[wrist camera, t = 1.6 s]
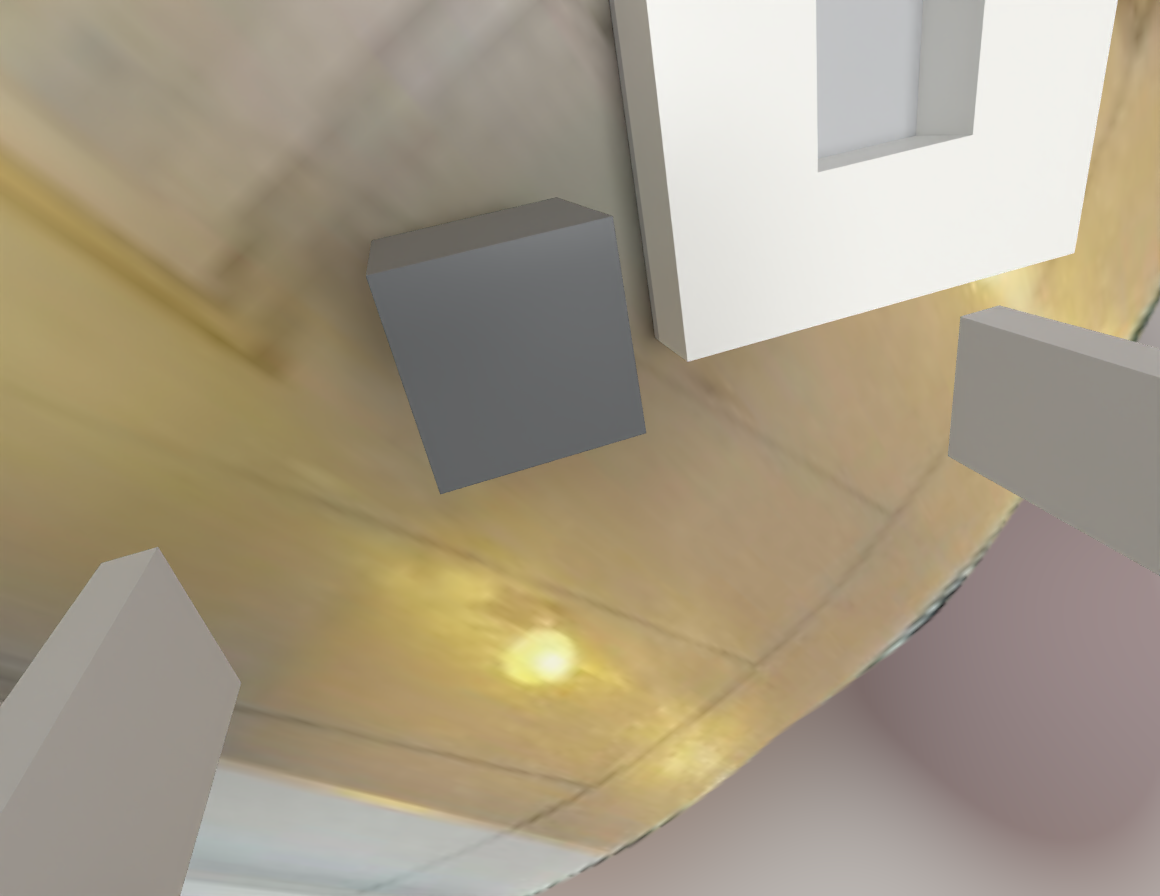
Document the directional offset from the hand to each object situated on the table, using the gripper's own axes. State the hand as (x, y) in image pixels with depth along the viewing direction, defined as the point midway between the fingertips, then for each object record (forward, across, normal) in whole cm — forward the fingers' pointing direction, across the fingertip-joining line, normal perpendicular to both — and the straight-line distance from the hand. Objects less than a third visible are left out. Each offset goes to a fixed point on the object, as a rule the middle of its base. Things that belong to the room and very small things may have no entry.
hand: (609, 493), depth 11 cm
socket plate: (+17, +16, +5) cm, 24 cm away
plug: (+17, 0, 0) cm, 17 cm away
